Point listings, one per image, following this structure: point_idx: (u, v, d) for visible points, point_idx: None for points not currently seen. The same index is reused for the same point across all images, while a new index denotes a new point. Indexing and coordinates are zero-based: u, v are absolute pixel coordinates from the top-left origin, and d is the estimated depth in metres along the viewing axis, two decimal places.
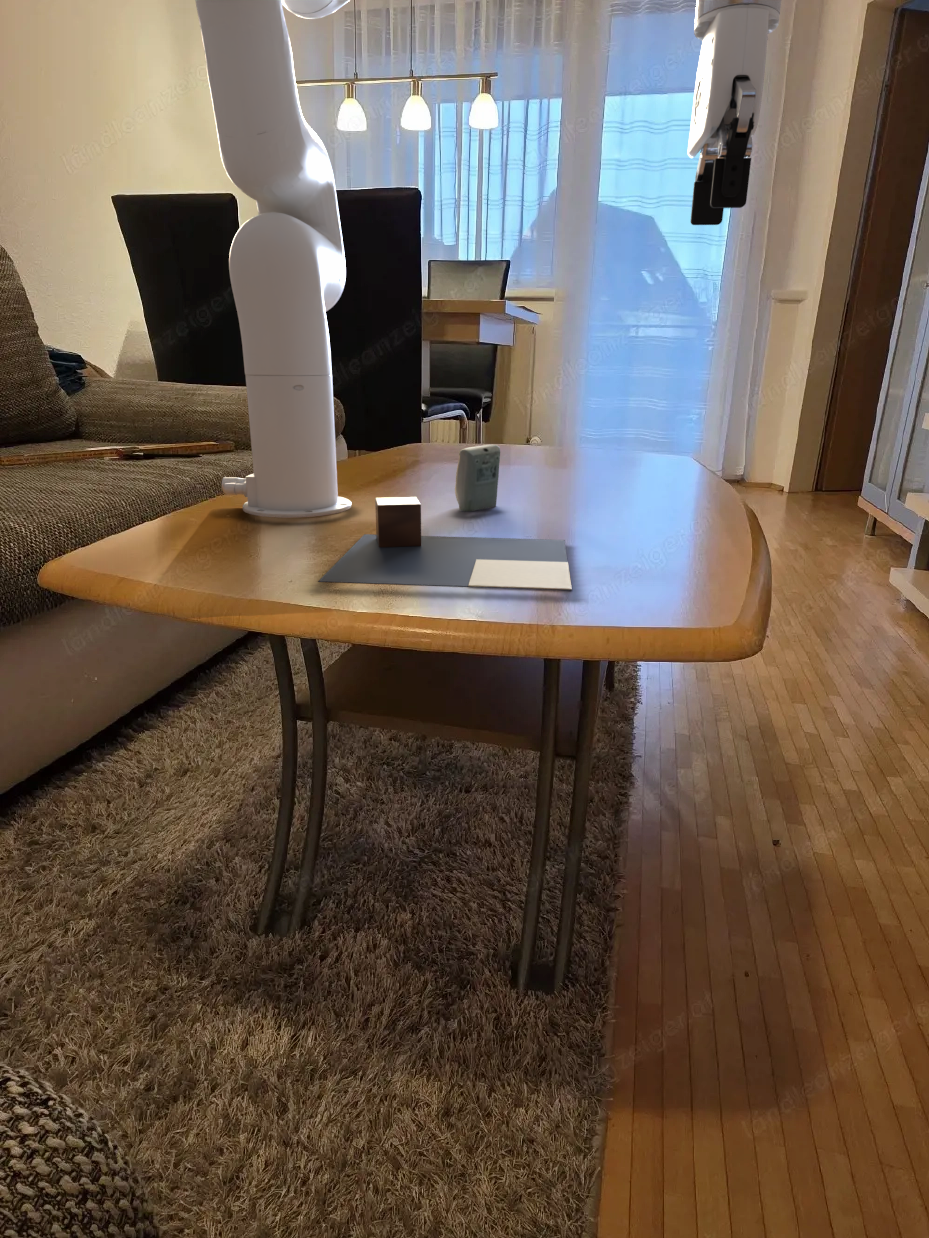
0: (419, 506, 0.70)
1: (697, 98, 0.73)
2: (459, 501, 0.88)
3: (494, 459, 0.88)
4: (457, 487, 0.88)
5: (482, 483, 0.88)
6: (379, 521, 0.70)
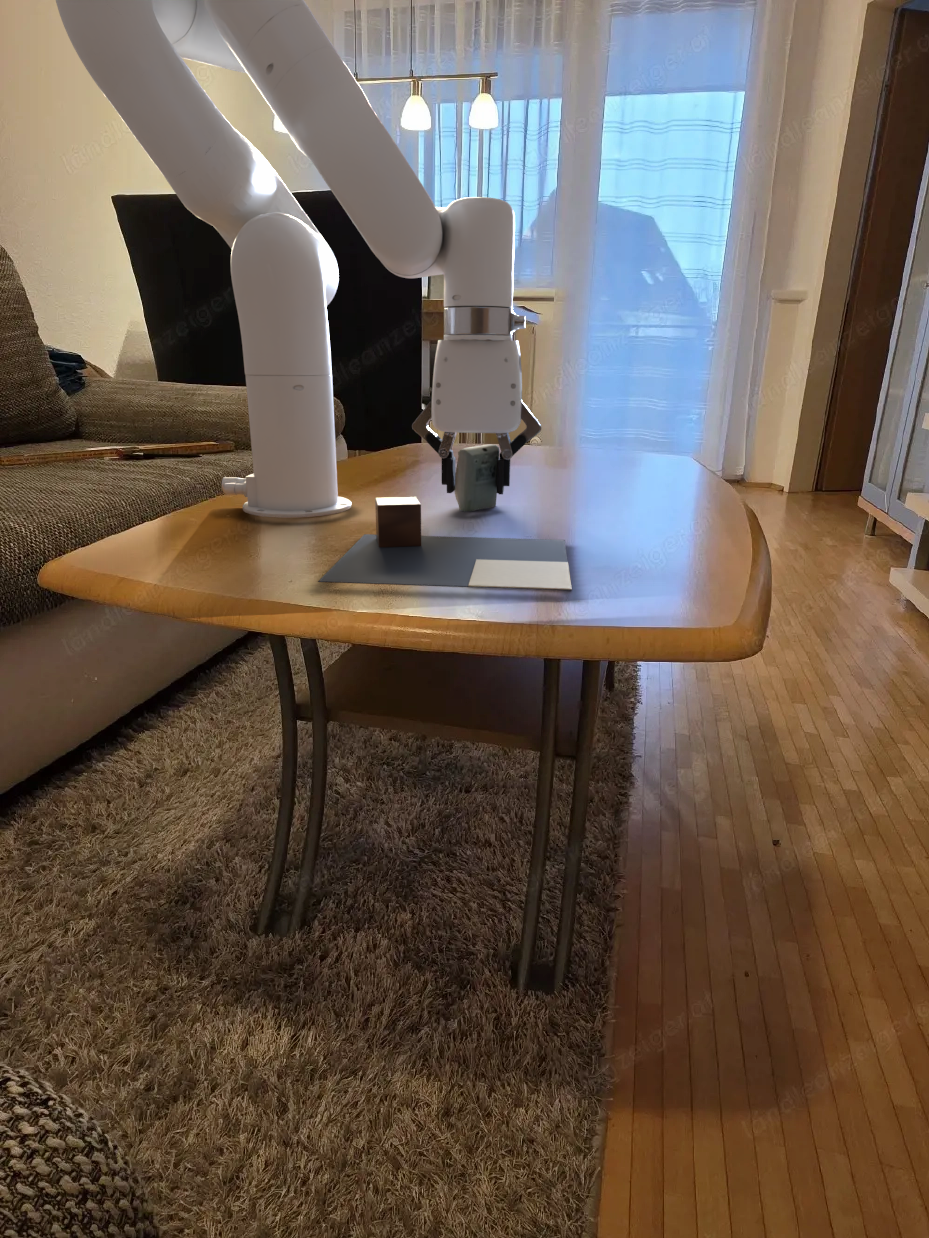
0: (419, 506, 0.70)
1: None
2: (459, 501, 0.88)
3: (493, 459, 0.88)
4: (457, 487, 0.88)
5: (482, 483, 0.88)
6: (379, 521, 0.70)
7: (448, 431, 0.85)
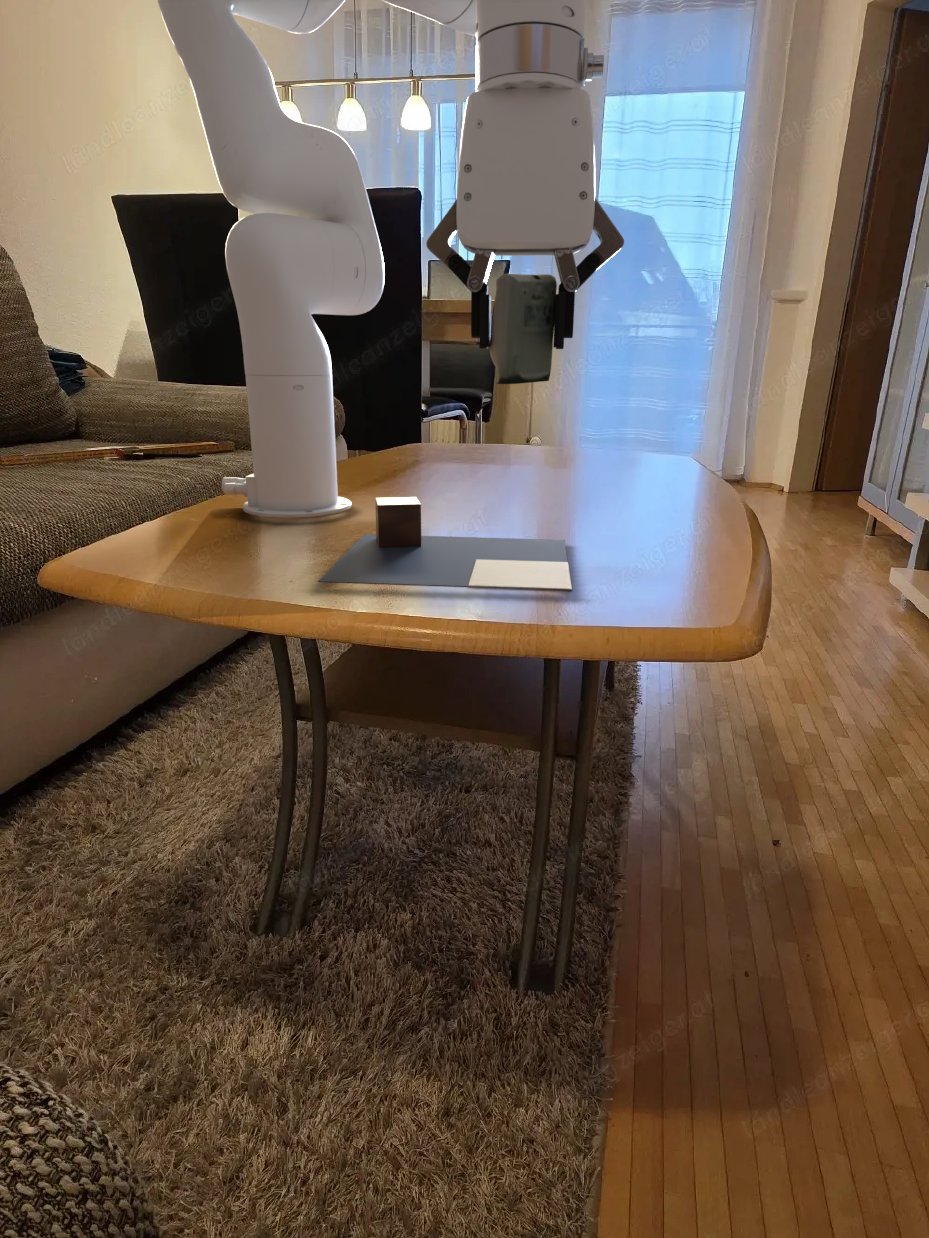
0: (419, 506, 0.70)
1: None
2: (498, 360, 0.58)
3: (549, 294, 0.58)
4: (494, 338, 0.58)
5: (532, 331, 0.58)
6: (379, 521, 0.70)
7: (482, 247, 0.56)
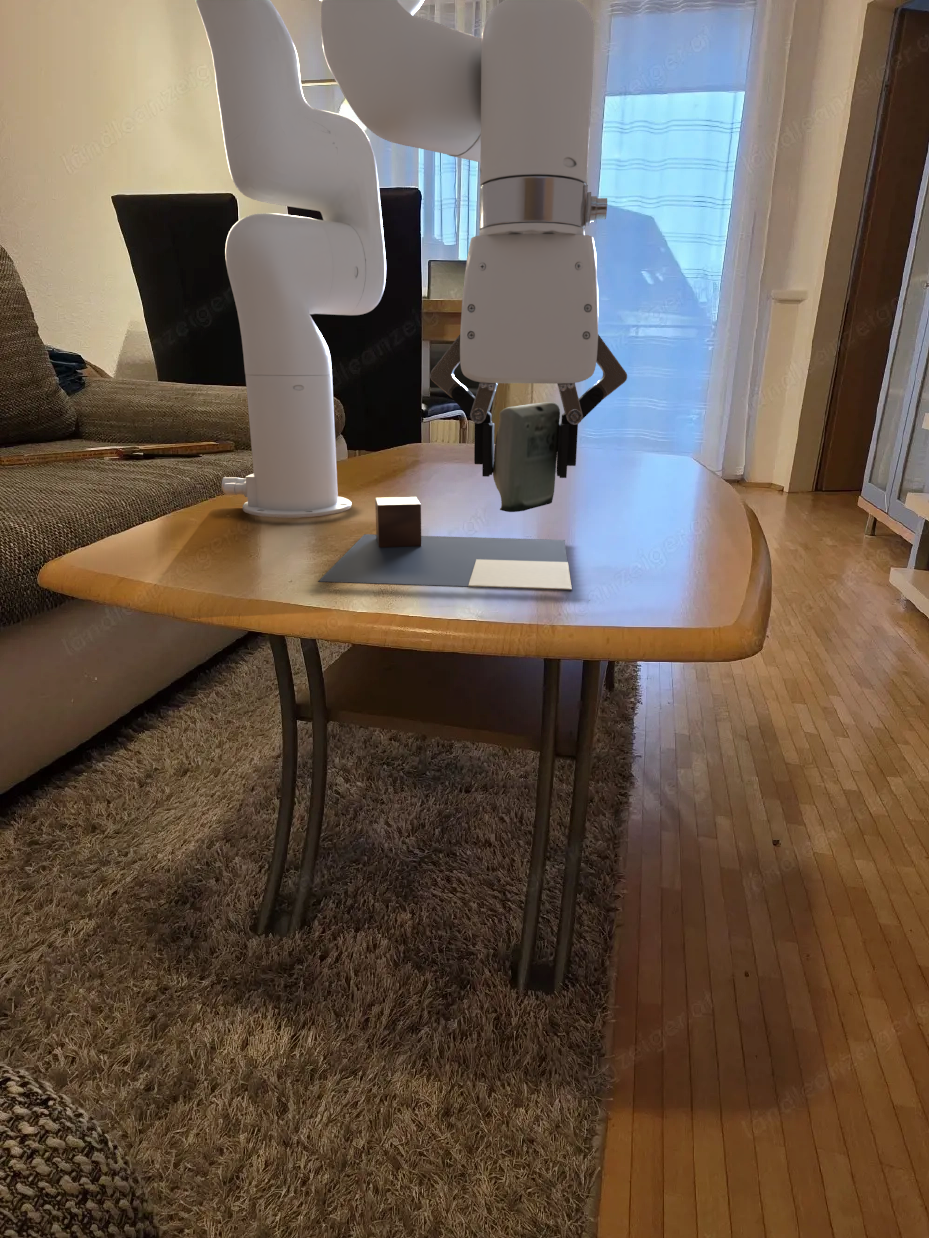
0: (419, 506, 0.70)
1: None
2: (501, 488, 0.59)
3: (552, 423, 0.58)
4: (497, 467, 0.58)
5: (535, 460, 0.58)
6: (379, 521, 0.70)
7: (485, 381, 0.56)
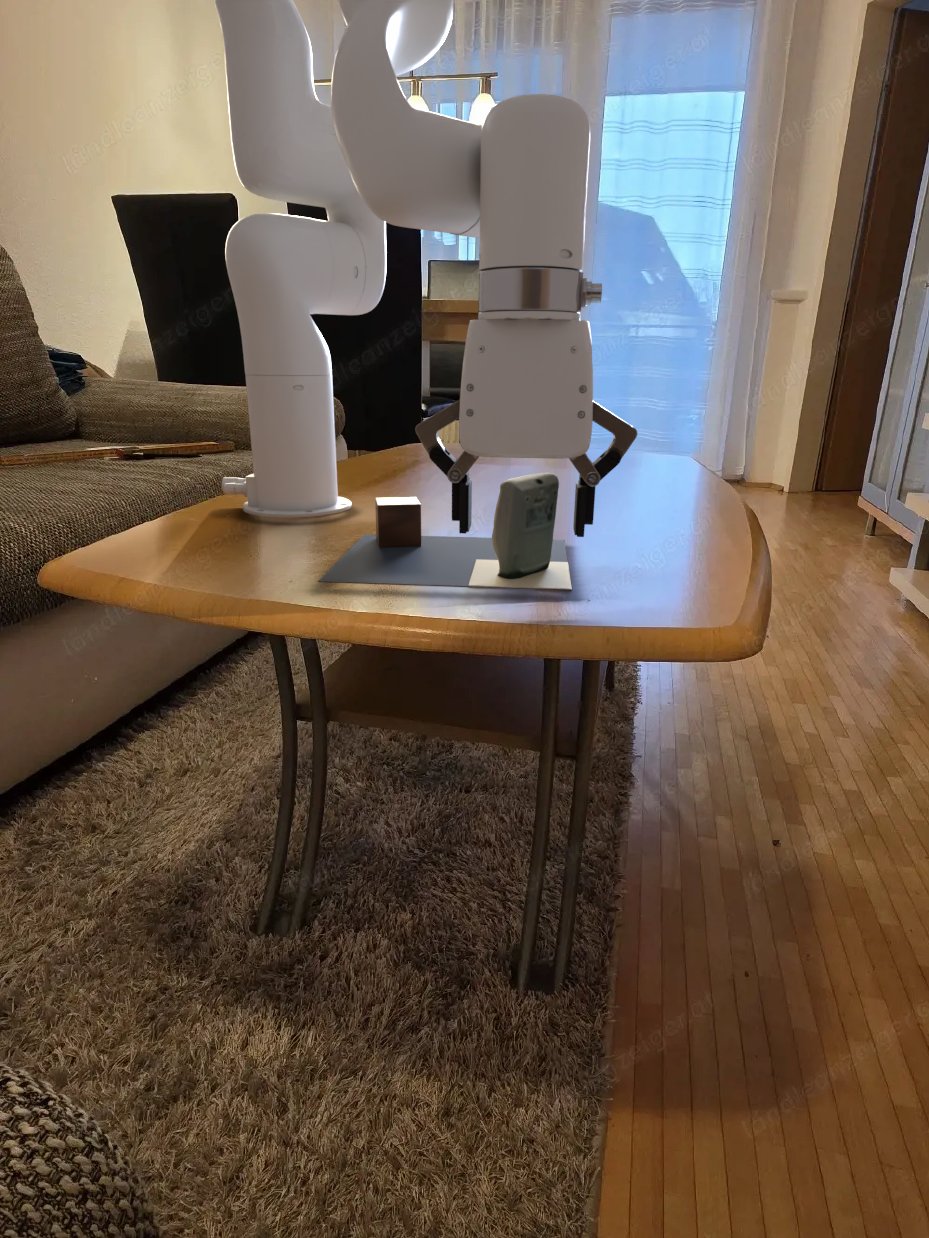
0: (419, 506, 0.70)
1: None
2: (499, 555, 0.60)
3: (551, 495, 0.60)
4: (497, 535, 0.60)
5: (533, 529, 0.60)
6: (379, 521, 0.70)
7: (484, 455, 0.58)
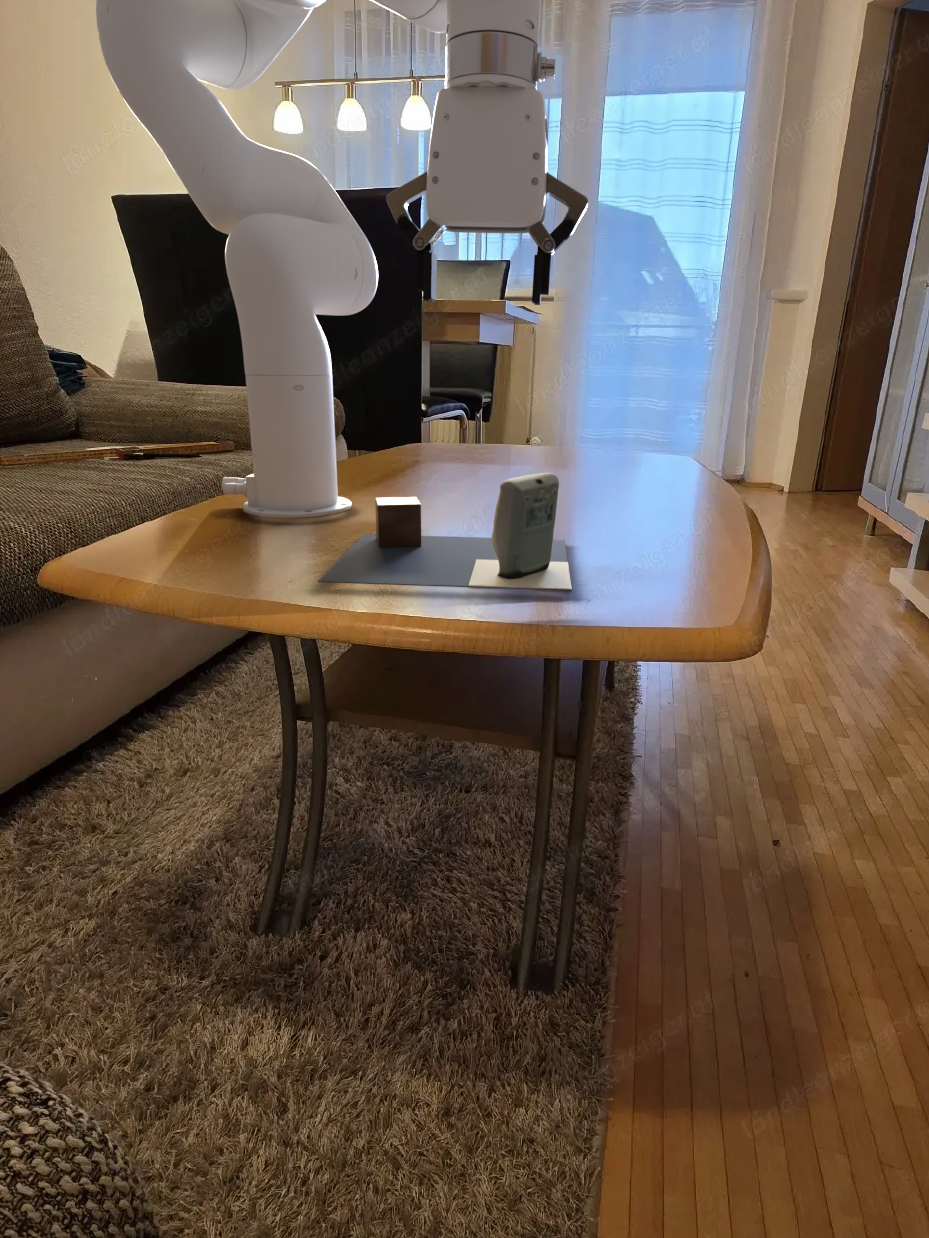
0: (419, 506, 0.70)
1: None
2: (499, 555, 0.60)
3: (551, 495, 0.60)
4: (497, 535, 0.60)
5: (533, 529, 0.60)
6: (379, 521, 0.70)
7: (448, 224, 0.64)
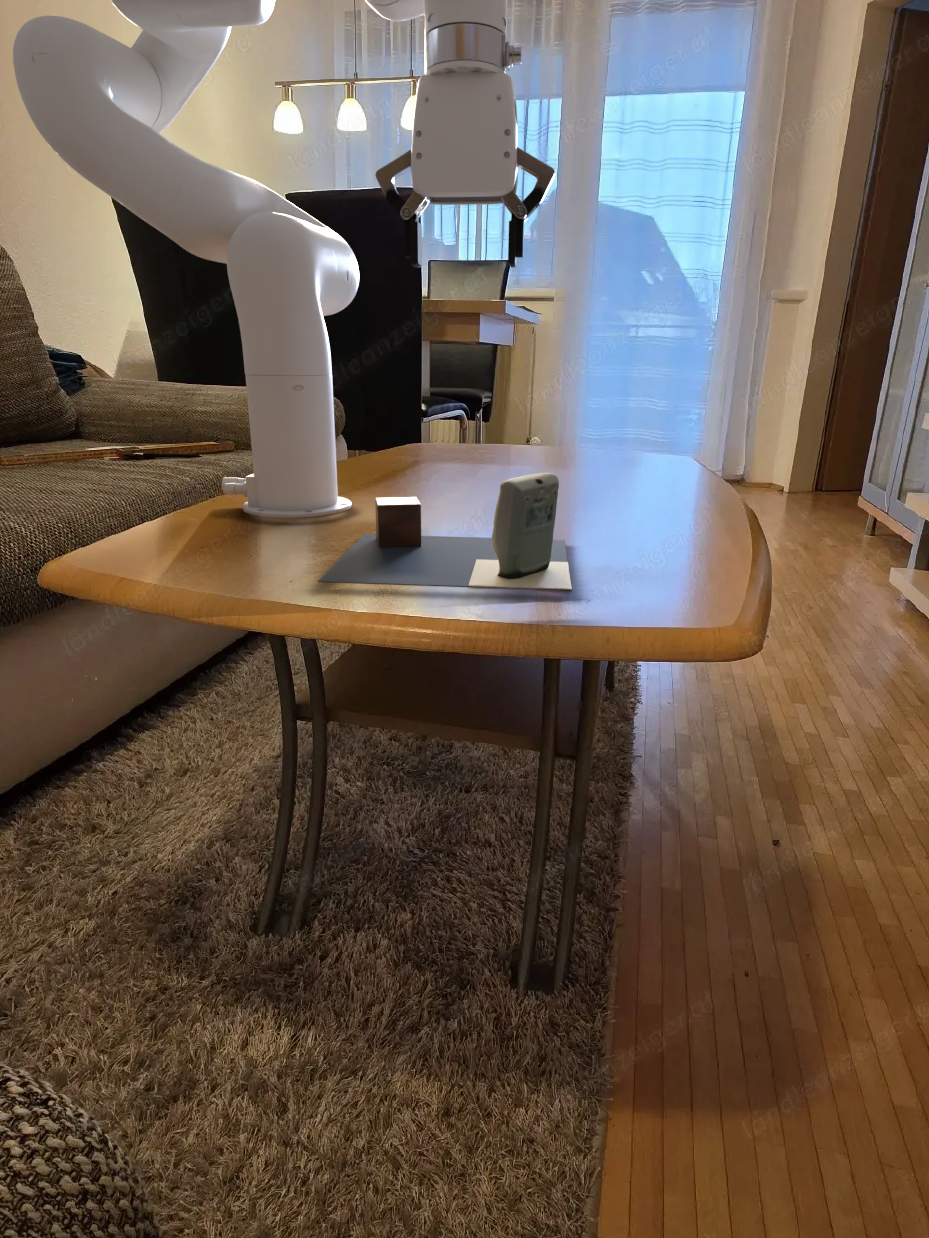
0: (419, 506, 0.70)
1: None
2: (499, 555, 0.60)
3: (551, 495, 0.60)
4: (497, 535, 0.60)
5: (533, 529, 0.60)
6: (379, 521, 0.70)
7: (431, 195, 0.72)
